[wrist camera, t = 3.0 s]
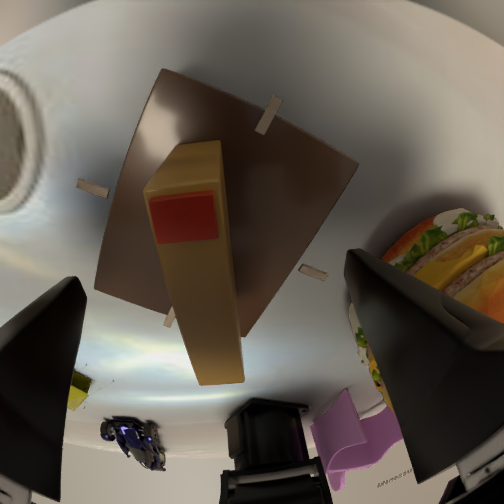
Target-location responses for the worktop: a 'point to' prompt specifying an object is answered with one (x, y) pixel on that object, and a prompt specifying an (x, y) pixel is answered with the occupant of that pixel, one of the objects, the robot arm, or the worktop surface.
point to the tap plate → (237, 194)
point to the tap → (198, 257)
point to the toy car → (136, 441)
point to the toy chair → (352, 438)
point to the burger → (447, 268)
